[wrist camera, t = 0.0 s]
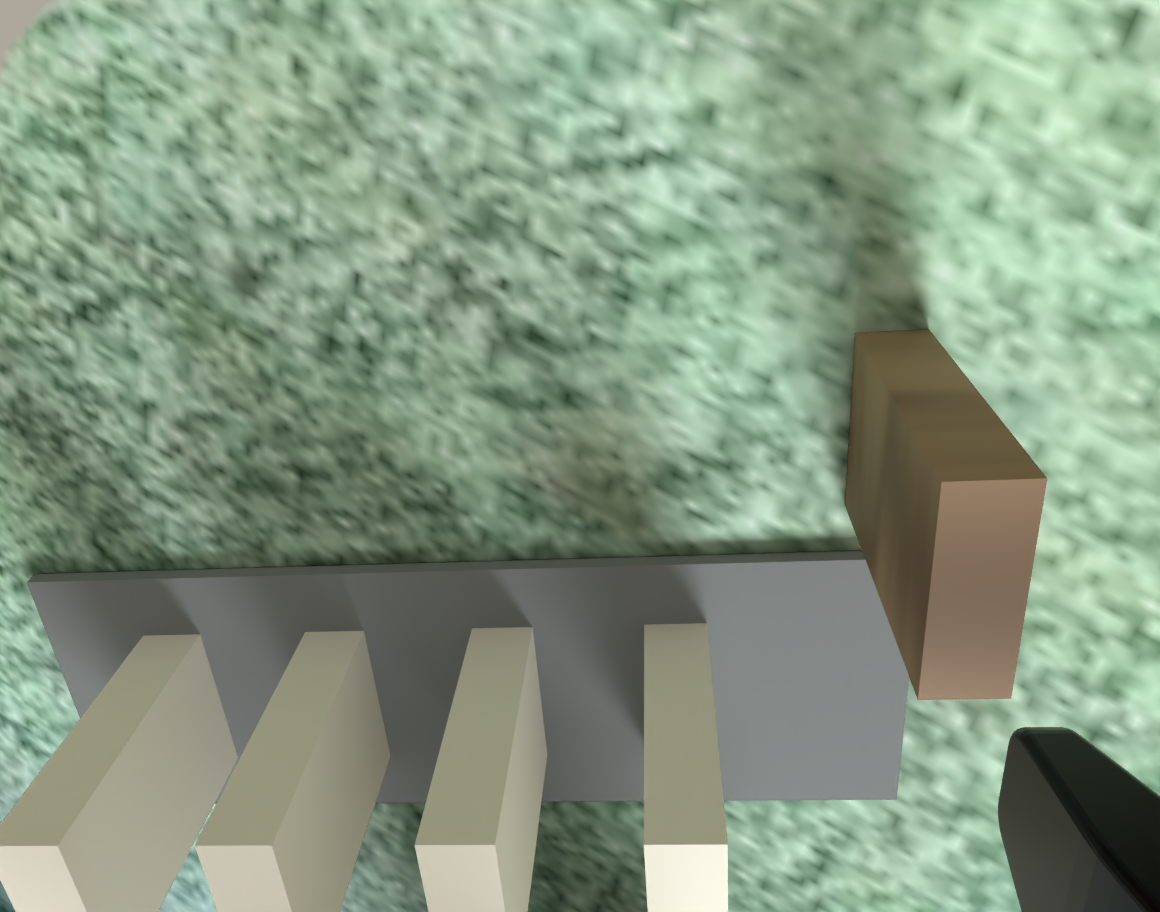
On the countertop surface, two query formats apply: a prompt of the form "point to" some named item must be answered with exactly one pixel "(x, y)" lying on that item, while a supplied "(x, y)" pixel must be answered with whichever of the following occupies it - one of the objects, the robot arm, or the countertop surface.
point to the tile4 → (301, 786)
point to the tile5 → (123, 789)
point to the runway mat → (542, 657)
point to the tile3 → (487, 781)
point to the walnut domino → (941, 515)
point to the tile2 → (682, 774)
